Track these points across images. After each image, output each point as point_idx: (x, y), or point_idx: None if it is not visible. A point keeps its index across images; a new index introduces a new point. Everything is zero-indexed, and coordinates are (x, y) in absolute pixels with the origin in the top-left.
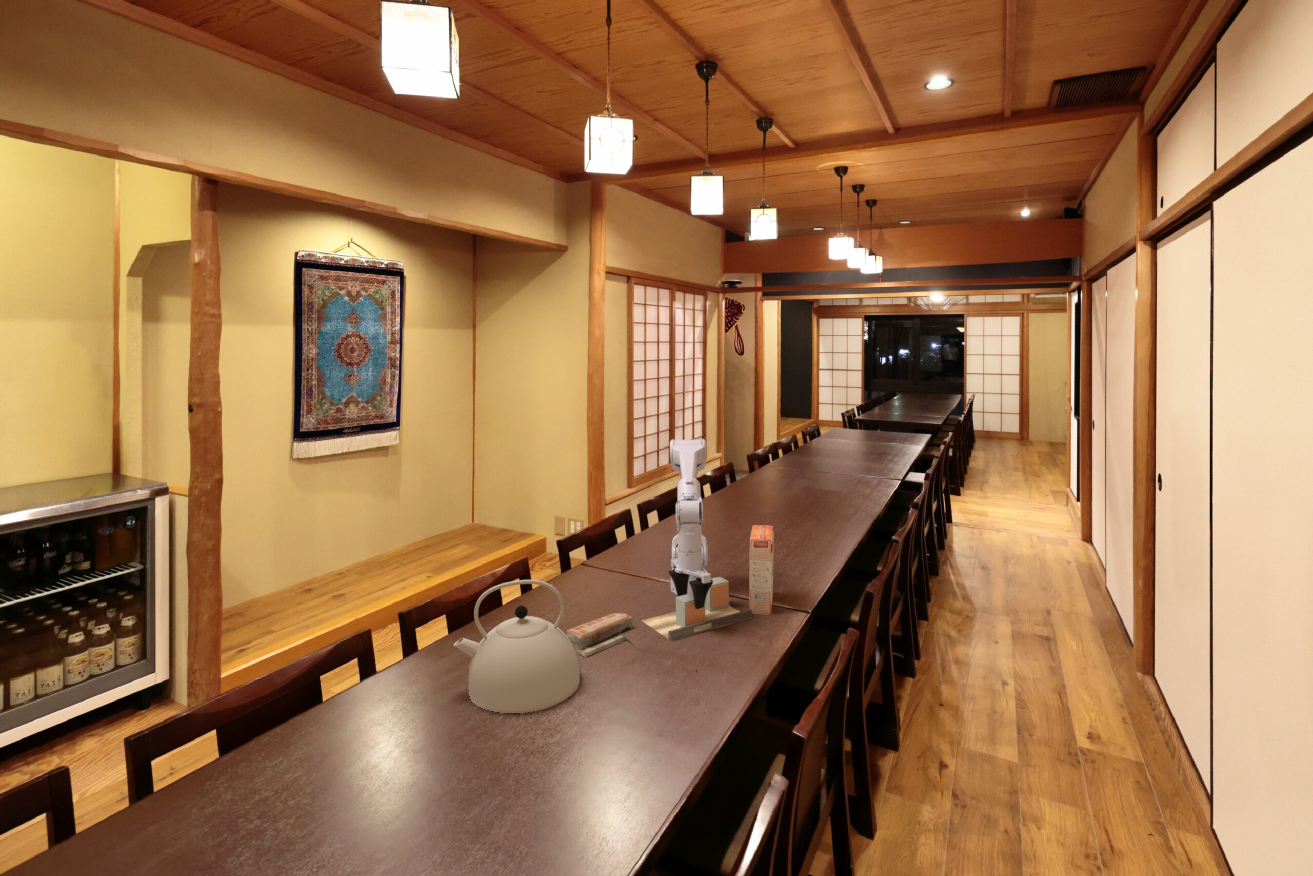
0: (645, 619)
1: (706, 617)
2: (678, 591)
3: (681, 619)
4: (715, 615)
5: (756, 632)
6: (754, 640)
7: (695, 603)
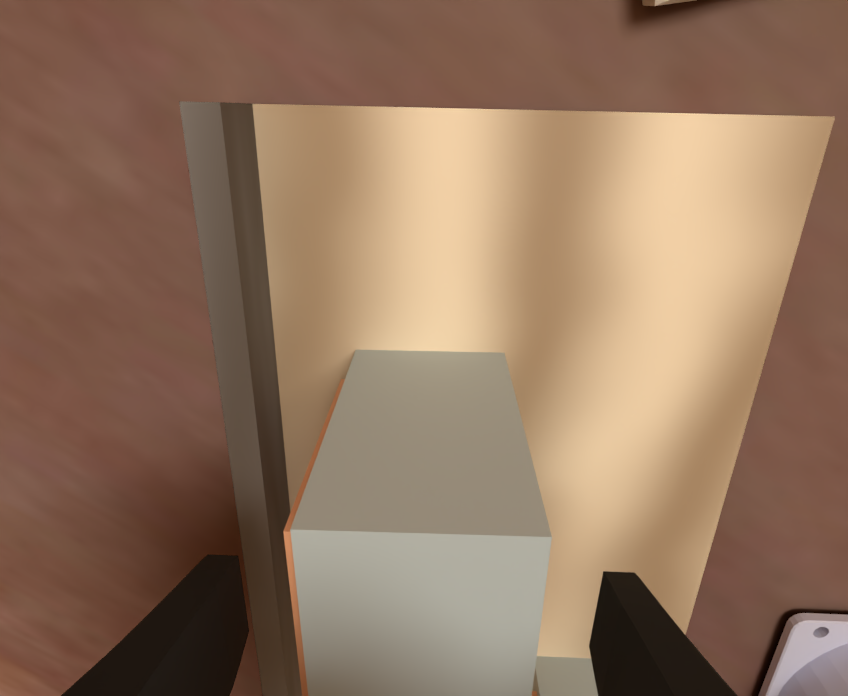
0: (814, 171)
1: None
2: (644, 659)
3: (406, 386)
4: None
5: None
6: (68, 616)
7: (163, 604)
